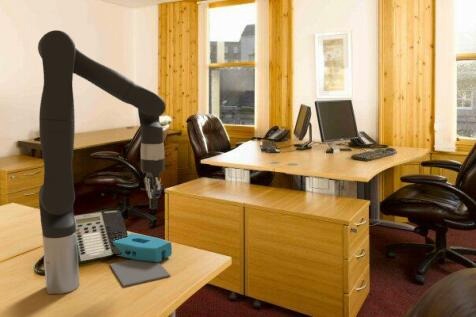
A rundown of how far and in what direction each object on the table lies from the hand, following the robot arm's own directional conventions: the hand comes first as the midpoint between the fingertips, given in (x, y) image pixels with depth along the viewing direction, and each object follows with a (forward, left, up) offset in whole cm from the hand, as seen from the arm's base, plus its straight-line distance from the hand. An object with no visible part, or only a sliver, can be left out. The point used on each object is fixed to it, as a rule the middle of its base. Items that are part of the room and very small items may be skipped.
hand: (153, 208), depth 139 cm
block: (+4, +3, -17) cm, 18 cm away
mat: (-6, 0, -21) cm, 21 cm away
